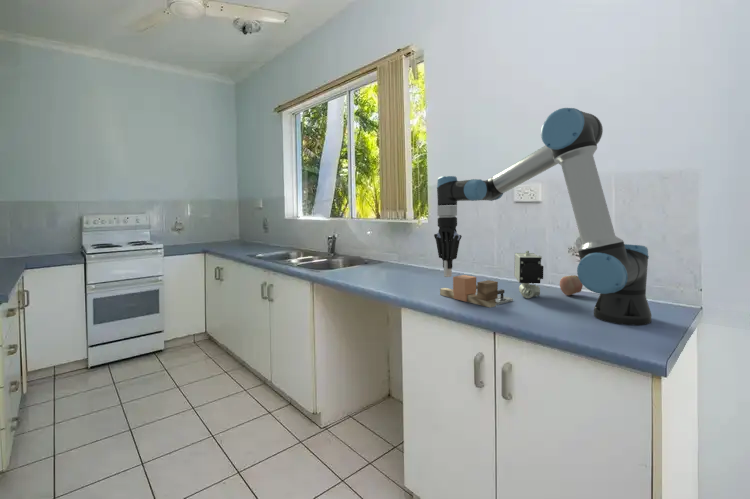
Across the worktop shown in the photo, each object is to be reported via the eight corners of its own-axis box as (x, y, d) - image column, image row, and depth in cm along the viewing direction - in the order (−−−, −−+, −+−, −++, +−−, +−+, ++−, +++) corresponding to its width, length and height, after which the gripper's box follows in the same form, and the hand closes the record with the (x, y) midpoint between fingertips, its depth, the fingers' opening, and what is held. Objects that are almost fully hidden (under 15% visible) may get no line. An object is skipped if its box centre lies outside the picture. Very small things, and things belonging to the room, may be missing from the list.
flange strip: (513, 301, 147) (513, 298, 147) (497, 304, 142) (497, 301, 142) (468, 290, 165) (468, 288, 165) (452, 294, 160) (452, 291, 160)
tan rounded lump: (581, 294, 156) (582, 274, 155) (582, 298, 149) (583, 277, 148) (559, 292, 159) (559, 272, 158) (559, 296, 152) (559, 276, 151)
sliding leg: (485, 297, 152) (486, 275, 151) (464, 301, 146) (465, 279, 145) (473, 294, 157) (474, 273, 156) (453, 298, 151) (453, 276, 150)
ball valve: (544, 302, 144) (546, 253, 142) (520, 301, 146) (521, 253, 144) (535, 291, 161) (536, 248, 159) (513, 291, 163) (514, 248, 161)
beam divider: (508, 303, 144) (509, 280, 143) (487, 308, 137) (487, 284, 136) (457, 291, 164) (458, 271, 163) (437, 295, 158) (437, 274, 157)
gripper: (466, 216, 151) (466, 277, 154) (442, 216, 162) (443, 273, 164) (452, 217, 147) (452, 279, 150) (428, 217, 158) (429, 275, 160)
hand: (447, 276), depth 157 cm, fingers closed
